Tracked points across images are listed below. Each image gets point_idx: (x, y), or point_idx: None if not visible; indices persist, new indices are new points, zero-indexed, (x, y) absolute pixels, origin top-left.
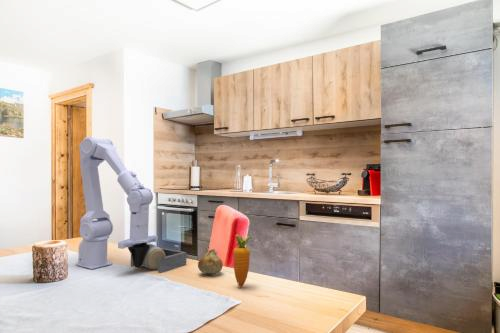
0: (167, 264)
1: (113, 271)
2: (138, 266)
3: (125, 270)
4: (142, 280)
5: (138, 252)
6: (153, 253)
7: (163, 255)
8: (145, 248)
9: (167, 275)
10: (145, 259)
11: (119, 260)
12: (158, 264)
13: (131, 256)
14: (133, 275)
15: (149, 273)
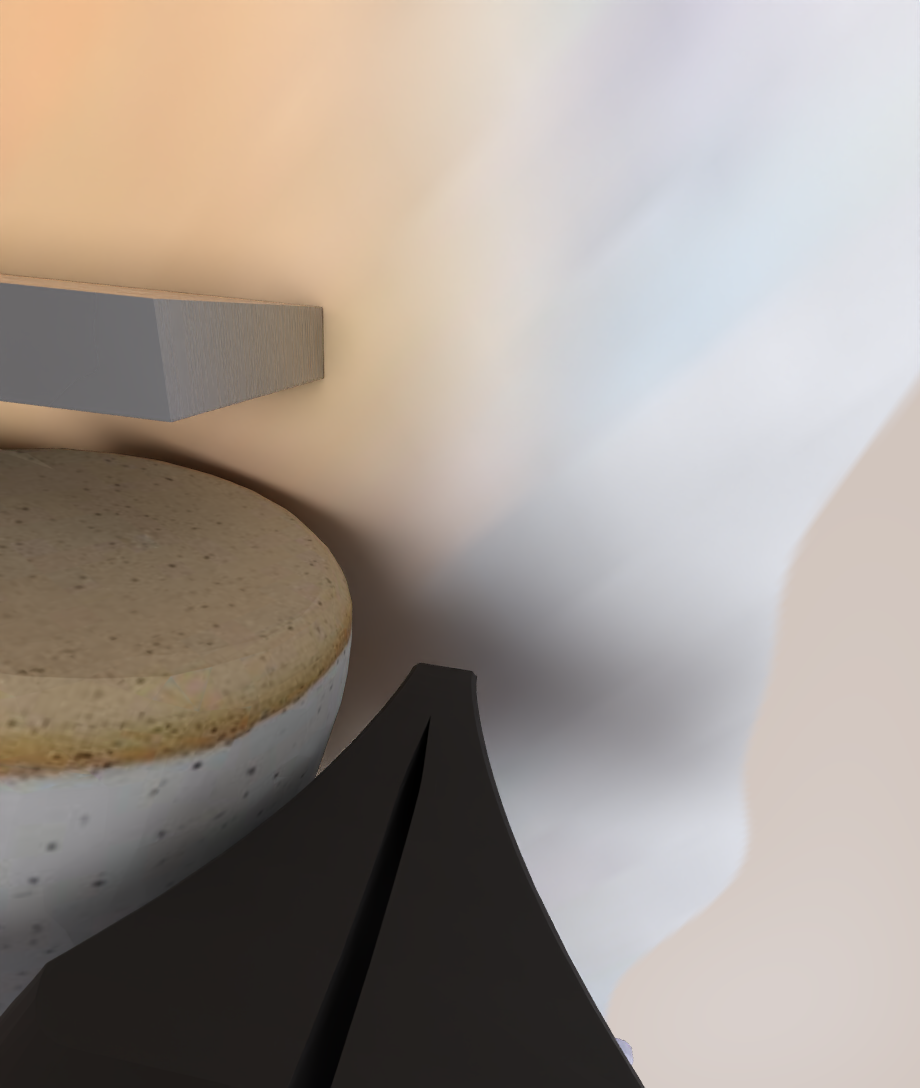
0: (64, 282)
1: (588, 877)
2: (474, 692)
3: None
4: (855, 270)
5: (574, 971)
6: (112, 669)
7: None
8: (256, 1014)
9: (358, 30)
10: (329, 712)
11: None
12: (255, 381)
13: None
14: (636, 602)
15: (439, 462)
